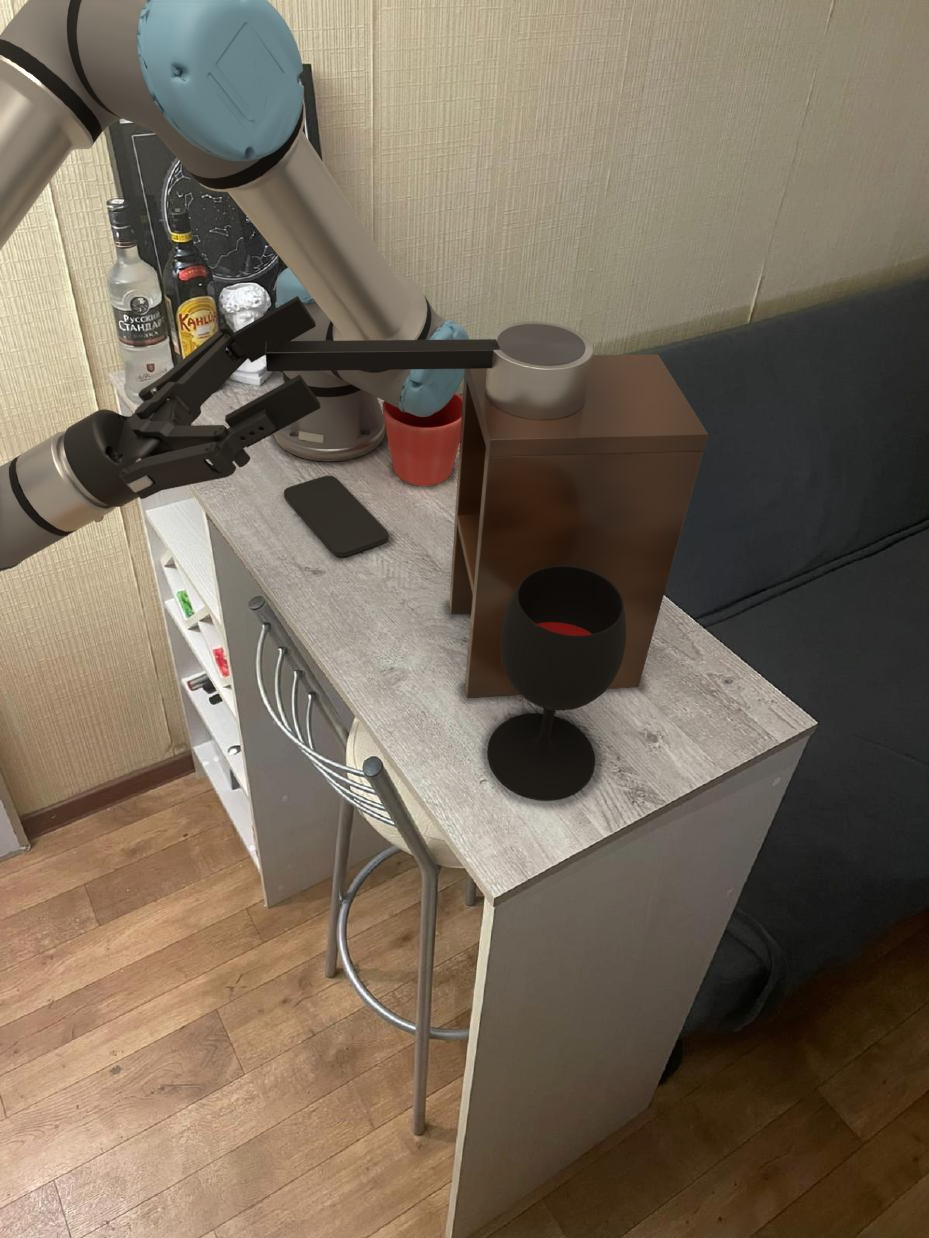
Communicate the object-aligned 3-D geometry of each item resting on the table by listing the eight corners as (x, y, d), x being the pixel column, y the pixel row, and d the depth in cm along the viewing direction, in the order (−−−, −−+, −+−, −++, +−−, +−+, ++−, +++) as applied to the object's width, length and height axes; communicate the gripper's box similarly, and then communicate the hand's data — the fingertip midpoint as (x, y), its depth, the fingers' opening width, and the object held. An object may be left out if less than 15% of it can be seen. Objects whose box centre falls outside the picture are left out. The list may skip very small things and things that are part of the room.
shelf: (466, 698, 92) (490, 439, 71) (449, 605, 102) (465, 356, 81) (638, 687, 94) (708, 434, 74) (604, 597, 104) (658, 354, 84)
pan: (269, 426, 71) (264, 372, 68) (271, 373, 77) (266, 321, 74) (595, 419, 75) (605, 367, 71) (572, 369, 81) (580, 320, 78)
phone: (337, 555, 106) (280, 489, 114) (337, 560, 106) (280, 494, 115) (392, 535, 109) (332, 473, 118) (392, 541, 109) (332, 478, 118)
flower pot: (479, 478, 121) (485, 413, 114) (410, 502, 116) (411, 436, 109) (435, 440, 127) (438, 377, 120) (367, 462, 122) (366, 397, 115)
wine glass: (589, 811, 82) (630, 655, 69) (477, 788, 83) (495, 630, 70) (600, 726, 90) (638, 570, 76) (497, 706, 91) (516, 549, 77)
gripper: (139, 425, 87) (328, 318, 83) (102, 595, 69) (340, 471, 65) (83, 363, 83) (281, 246, 78) (27, 529, 64) (280, 389, 60)
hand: (308, 348), depth 71 cm, fingers open, 13 cm apart
